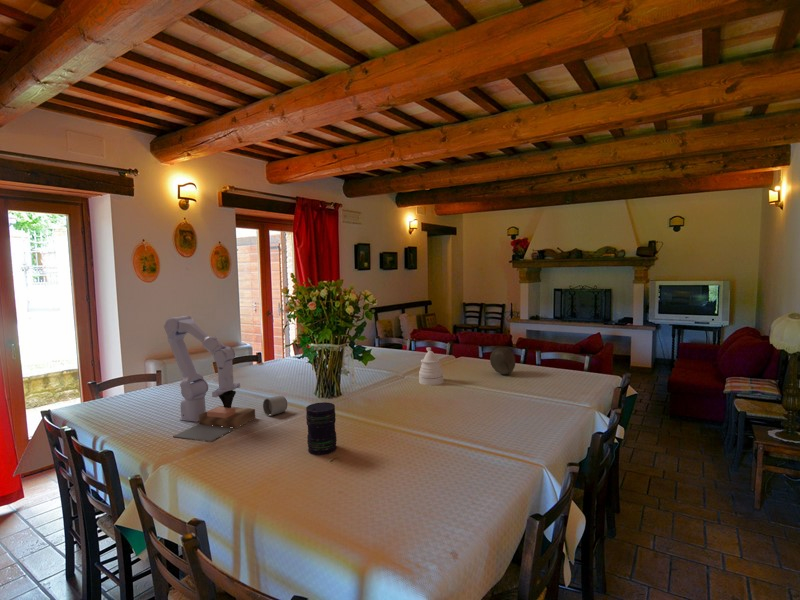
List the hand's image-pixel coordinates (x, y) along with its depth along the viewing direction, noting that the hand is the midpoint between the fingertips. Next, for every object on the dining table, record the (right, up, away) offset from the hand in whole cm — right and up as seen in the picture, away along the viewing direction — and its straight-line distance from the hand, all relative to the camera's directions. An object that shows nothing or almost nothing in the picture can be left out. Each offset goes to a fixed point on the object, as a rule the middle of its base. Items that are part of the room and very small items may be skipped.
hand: (227, 409), depth 181 cm
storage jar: (+45, -6, -31) cm, 54 cm away
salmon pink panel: (-1, -1, -4) cm, 4 cm away
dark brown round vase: (+129, +4, +63) cm, 143 cm away
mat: (-4, -6, -12) cm, 14 cm away
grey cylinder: (+16, -4, +9) cm, 19 cm away
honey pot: (+88, +1, +52) cm, 102 cm away
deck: (0, -5, 0) cm, 5 cm away
